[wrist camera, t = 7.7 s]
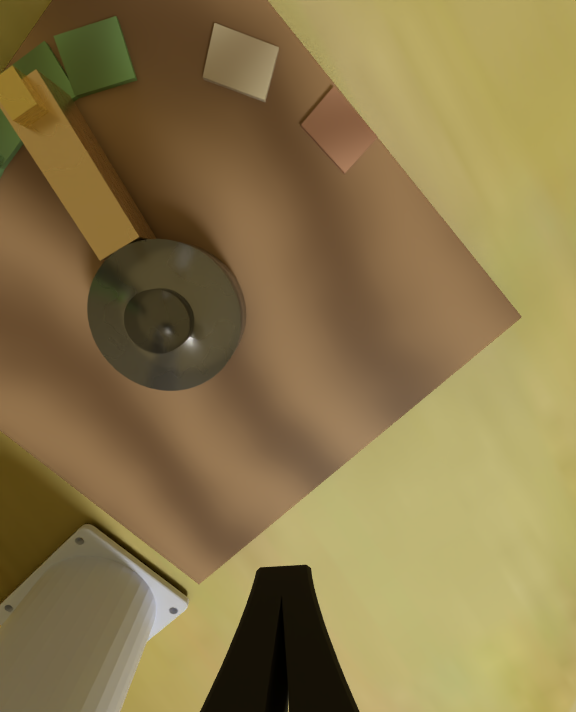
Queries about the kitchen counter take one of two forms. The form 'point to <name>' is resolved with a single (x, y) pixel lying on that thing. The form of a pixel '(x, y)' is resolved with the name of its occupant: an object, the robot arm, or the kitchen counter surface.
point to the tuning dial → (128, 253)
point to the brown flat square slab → (244, 259)
